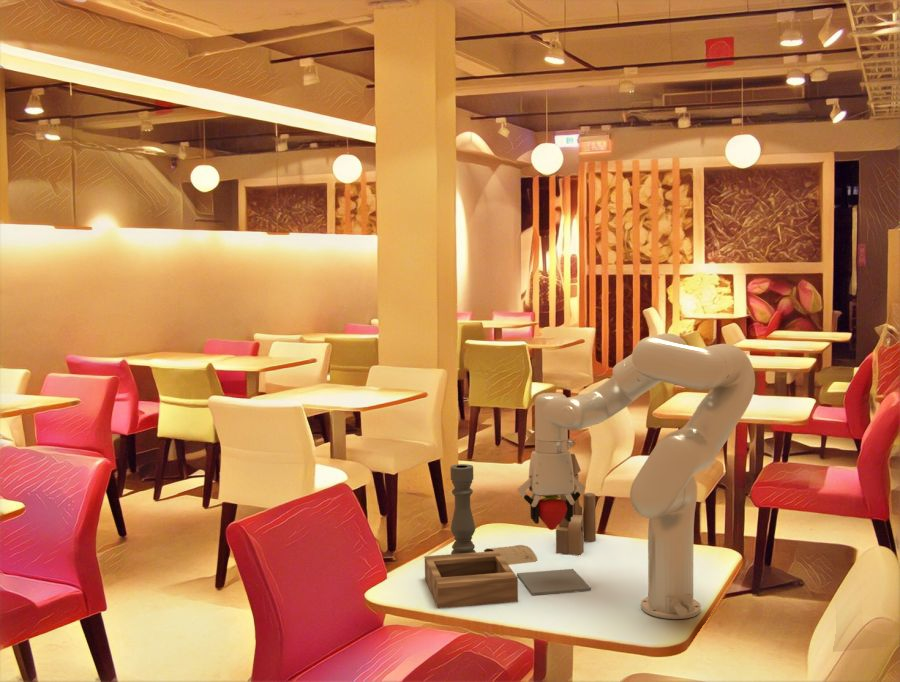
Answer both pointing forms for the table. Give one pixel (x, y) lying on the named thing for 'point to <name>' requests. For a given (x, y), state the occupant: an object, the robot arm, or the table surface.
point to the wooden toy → (577, 522)
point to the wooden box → (470, 579)
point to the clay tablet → (516, 554)
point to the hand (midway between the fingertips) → (551, 520)
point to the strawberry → (552, 510)
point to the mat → (553, 582)
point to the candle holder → (462, 509)
